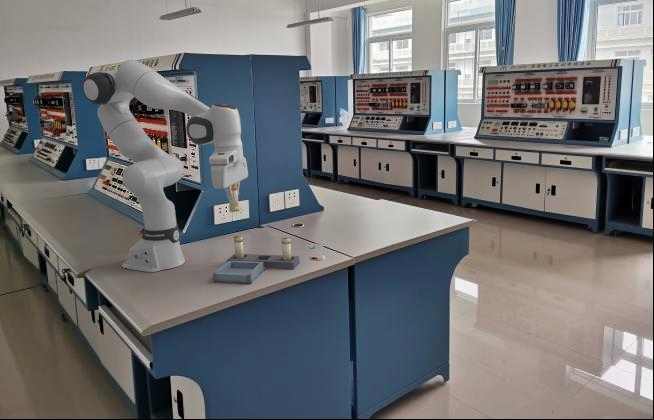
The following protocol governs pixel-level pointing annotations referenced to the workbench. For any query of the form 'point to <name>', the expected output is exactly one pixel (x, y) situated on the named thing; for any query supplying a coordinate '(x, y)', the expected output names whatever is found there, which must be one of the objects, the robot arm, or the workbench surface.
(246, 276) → the parts tray
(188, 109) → the robot arm
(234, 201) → the marked fuse
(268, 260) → the fuse holder
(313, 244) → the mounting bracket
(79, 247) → the workbench surface
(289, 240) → the right fuse
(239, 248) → the left fuse
